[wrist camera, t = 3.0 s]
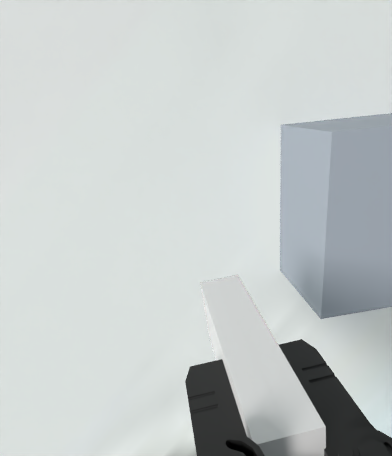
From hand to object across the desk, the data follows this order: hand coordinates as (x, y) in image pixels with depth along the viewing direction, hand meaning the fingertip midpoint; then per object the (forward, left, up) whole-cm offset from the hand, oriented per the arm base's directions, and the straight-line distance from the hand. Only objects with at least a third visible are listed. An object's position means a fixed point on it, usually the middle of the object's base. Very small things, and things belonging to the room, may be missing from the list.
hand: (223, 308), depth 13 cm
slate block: (0, +10, -9) cm, 14 cm away
